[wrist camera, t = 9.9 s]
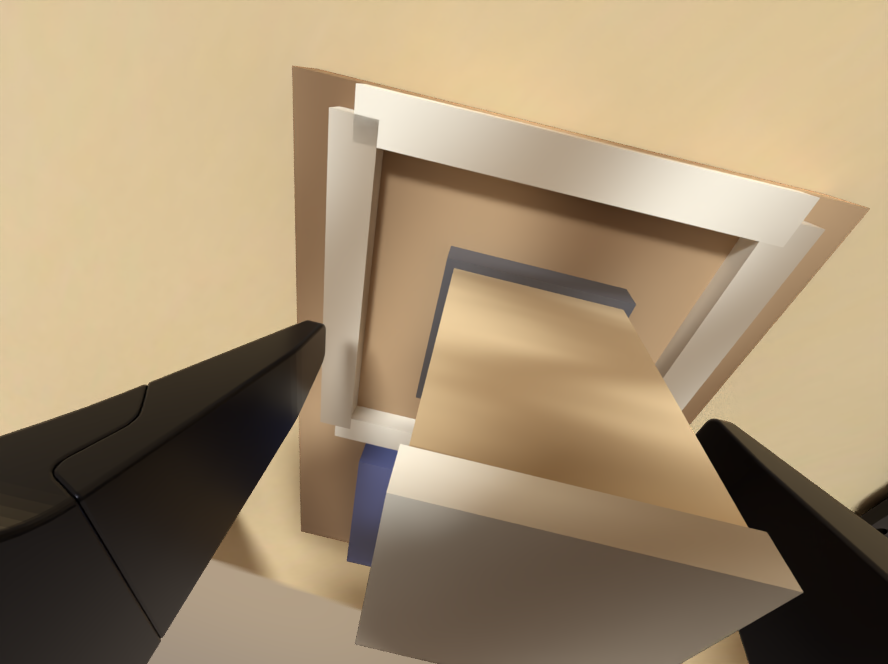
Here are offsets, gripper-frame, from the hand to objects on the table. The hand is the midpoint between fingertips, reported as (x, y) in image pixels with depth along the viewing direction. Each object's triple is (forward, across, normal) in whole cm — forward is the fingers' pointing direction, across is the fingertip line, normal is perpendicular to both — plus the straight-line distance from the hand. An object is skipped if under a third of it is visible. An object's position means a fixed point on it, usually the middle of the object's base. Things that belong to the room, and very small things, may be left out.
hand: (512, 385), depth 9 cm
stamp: (+2, 0, 0) cm, 2 cm away
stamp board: (+3, 0, +4) cm, 5 cm away
